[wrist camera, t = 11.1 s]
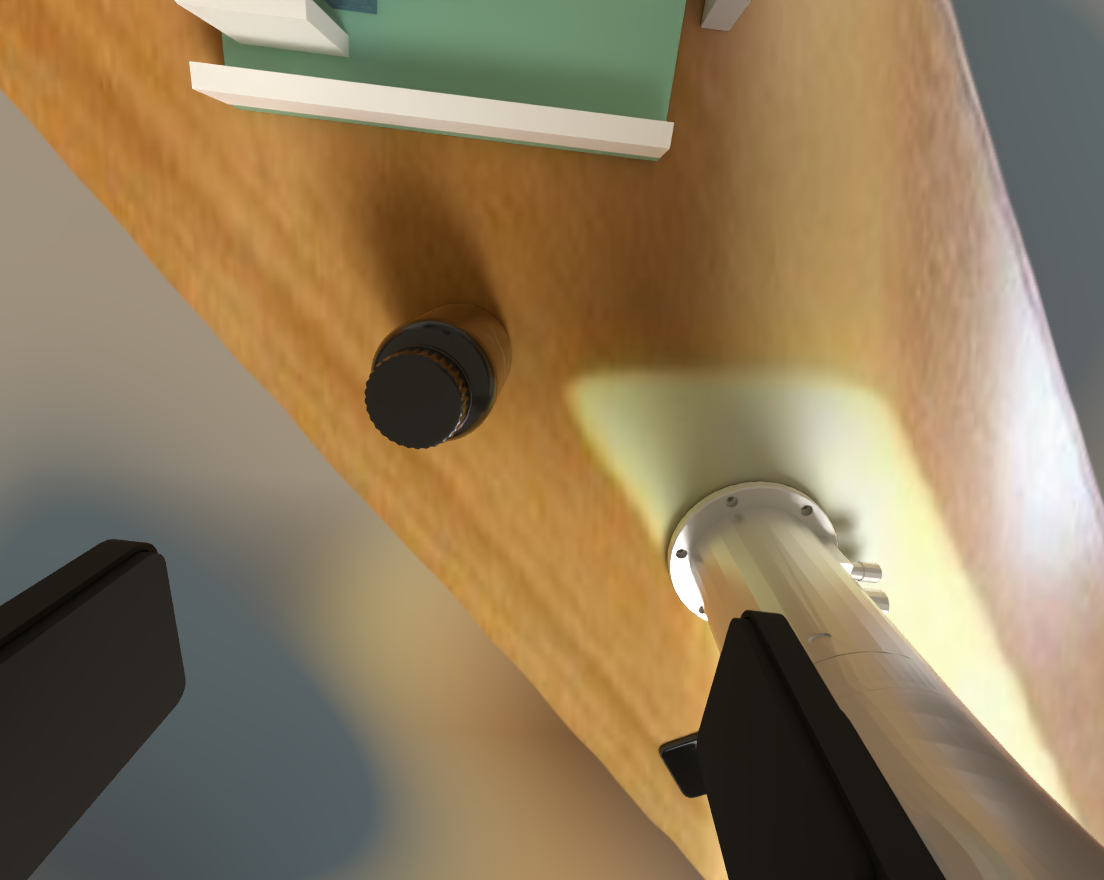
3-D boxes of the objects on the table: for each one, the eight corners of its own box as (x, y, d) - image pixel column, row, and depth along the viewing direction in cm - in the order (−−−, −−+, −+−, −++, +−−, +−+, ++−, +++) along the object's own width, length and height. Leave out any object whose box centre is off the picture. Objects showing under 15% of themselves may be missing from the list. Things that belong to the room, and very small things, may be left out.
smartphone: (684, 793, 50) (837, 745, 48) (686, 802, 49) (842, 754, 47) (654, 742, 48) (813, 689, 45) (655, 751, 47) (817, 697, 45)
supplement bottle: (423, 289, 34) (352, 308, 23) (523, 317, 35) (503, 350, 23) (405, 387, 36) (333, 448, 25) (499, 412, 37) (470, 484, 26)
